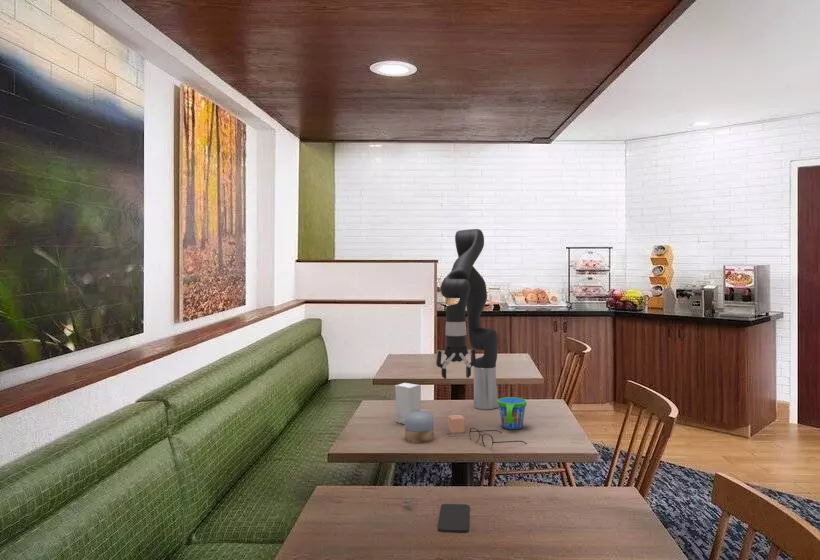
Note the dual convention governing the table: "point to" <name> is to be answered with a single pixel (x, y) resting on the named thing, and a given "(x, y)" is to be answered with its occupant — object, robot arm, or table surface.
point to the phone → (454, 518)
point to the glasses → (491, 436)
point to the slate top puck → (419, 421)
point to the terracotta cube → (456, 423)
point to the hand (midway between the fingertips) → (456, 377)
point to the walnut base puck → (419, 436)
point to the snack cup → (512, 412)
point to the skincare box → (407, 400)
